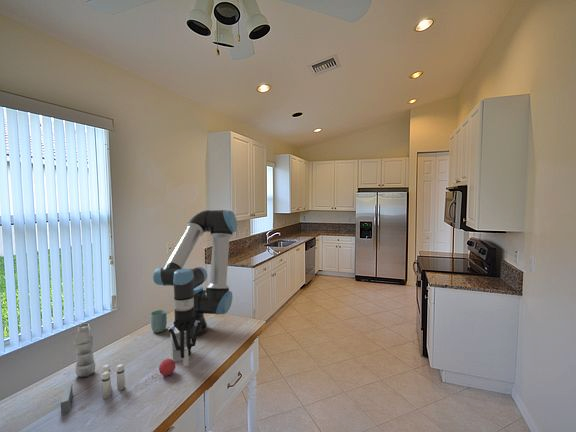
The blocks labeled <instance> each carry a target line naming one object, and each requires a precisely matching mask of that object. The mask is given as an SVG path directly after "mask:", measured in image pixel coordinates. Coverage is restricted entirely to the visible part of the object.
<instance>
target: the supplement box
mask: <svg viewBox="0 0 576 432" xmlns="http://www.w3.org/2000/svg"><path fill="white" fill-rule="evenodd" d="M174 333H175V335H176V338H177V342H178V345H179V346H180V332H179V330H178V329H177V328H176V327H175V331H174ZM185 347H187V346H186V331H184V348H185ZM170 355H171V359H172V360H173V361H174V362H175V363H176V362H180V361H183V358H181V356H180V350H178V351H177V350H176V348H175V345H174V342H173V338H172V335H171V334H170ZM190 358H191V355H190V356H188V360H189V359H190Z"/></svg>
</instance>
